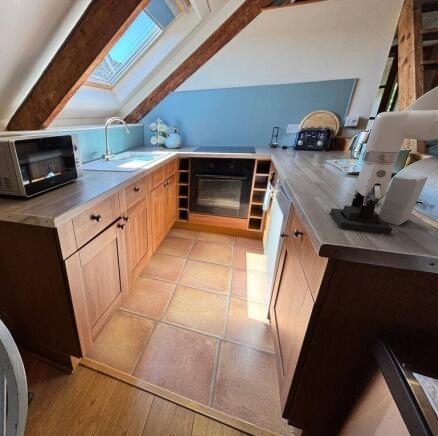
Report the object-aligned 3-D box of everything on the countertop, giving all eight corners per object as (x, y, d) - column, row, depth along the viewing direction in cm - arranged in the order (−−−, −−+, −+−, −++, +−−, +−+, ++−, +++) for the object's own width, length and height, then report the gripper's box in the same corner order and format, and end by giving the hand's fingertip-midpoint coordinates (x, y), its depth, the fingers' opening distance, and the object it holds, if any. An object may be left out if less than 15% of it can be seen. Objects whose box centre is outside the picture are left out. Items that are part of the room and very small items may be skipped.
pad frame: (372, 218, 83) (374, 212, 82) (390, 234, 71) (392, 228, 70) (330, 213, 87) (331, 208, 86) (340, 228, 75) (341, 222, 75)
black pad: (368, 215, 80) (370, 208, 79) (376, 222, 74) (379, 215, 73) (342, 212, 83) (344, 205, 82) (348, 219, 77) (350, 212, 76)
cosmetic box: (386, 215, 85) (402, 172, 79) (409, 220, 80) (429, 176, 74) (375, 219, 81) (391, 175, 75) (399, 226, 76) (419, 179, 70)
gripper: (411, 163, 62) (386, 226, 69) (383, 154, 77) (365, 207, 84) (374, 161, 65) (353, 222, 72) (354, 153, 80) (338, 204, 87)
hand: (359, 213), depth 78 cm, fingers closed on black pad, 7 cm apart
